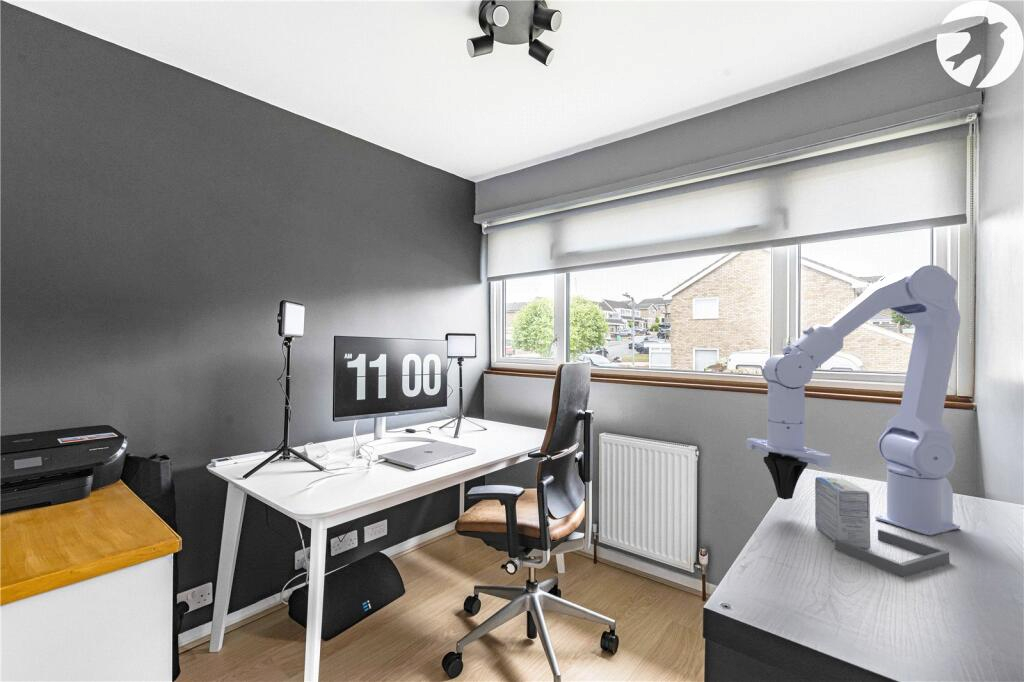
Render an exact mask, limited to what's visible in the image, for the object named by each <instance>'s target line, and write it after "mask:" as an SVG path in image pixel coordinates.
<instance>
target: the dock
mask: <svg viewBox="0 0 1024 682" xmlns="http://www.w3.org/2000/svg"><path fill="white" fill-rule="evenodd" d="M877 540H879V541H880V542H881V541H882V542H884V543H887V544H889V545H892V546H896V547H898V548H899V547H900V548H902V549H905V550H907V551H911V552H913V553H916V554H918V555H921V556H919V557H916V558H912V559H909V560H906V561H902V562H899V561H896V560H893V559H891V558H888V557H887V556H883V555H881V554H877V553H875V552H872V551H870V550H868V549H862V548H859V547H857V546H854V545H851V544H849V543H846V542H843V541H841V540H838V539H836V540H835V542H834V551H836V552H839V553H842V554H844V555H847V556H849V557H851V558H854V559H856V560H859V561H861V562H864V563H866V564H869V565H871V566H873V567H877V568H878V569H880V570H884V571H886V572H889V573H892V574H894V575H897V576H899V577H902V578H905V577H909V576H911V575H914V574H917V573H918V574H919V573H920V572H921V573H922V572H924V571H927V570H931V569H934V568H937V567H940V566H944V565H948V564H950V551H947V550H944V549H940V548H937V547H935V546H932V545H930V544H926V543H923V542H919V541H916V540H914V539H911V538H908V537H904V536H901V535H899V534H896V533H892V532H889V531H886V530H884V529H880V528H879V529H878V530H877Z"/></svg>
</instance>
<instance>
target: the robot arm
mask: <svg viewBox="0 0 1024 682" xmlns="http://www.w3.org/2000/svg"><path fill="white" fill-rule="evenodd" d="M957 287H958V280H956V279H955V278H954V277H953V276H952V275H951V274H950V273H949V272H948V271H947V270H945V268H943V267H941V266H938V265H934V264H933V265H932V264H927V265H923V266H919V267H918V268H914V269H910V270H906V271H900V272H897V273H888V274H885V275H884V276H882V277H880V278H879V279H878V281H877V282H876V281H875V282H874V283H871V284H870V285H869V286H868V287H867V288H866V289H865V291H864V292H862V293H861V294H860V295H859V296H858V297H857V298H856V299H855V300H854V301H852V302H851V303H850V304H849V305H847V307H845V309H843V310H842V311H841V312H840V313H838V315H837V316H835V317H834V318H833V319H832V320H830V322H829V323H828V324H826V325H825V324H815V325H814V326H813V327H812V326H807V327H806V328H804V329H803V330H802V333H803V335H801V336H800V337H798V338H797V339H796V340H794V341H793V343H791V344H790V345H785V346H783V347H782V348H781V351H782V354H775V355H772V356H771V357H769V358H768V359H767V360H766V361H765V362H764V366H763V368H761V370H760V371H761V374H762V377H763V379H764V380H765V381H766V383H767V395H766V396H767V402H766V403H767V404H766V405H767V407H766V410H767V411H766V413H767V414H766V415H767V416H766V418H767V419H766V420H767V423H766V424H767V425H766V426H767V427H766V428H767V429H766V431H767V432H766V433H767V434H766V440H765V439H761V438H755V437H751V438H746V449H747V450H752V451H753V450H755V451H759V452H763V453H767V456H764V457H763V462H764V464H765V466H766V467H767V469H768V471H769V473H770V475H771V478H772V481H773V483H774V486H775V490H776V495H777V498H780V499H782V500H790V499H793V496H794V493H795V489H796V486H797V483H798V482H799V480H800V477H801V476H802V474H803V472H804V471H805V469H806V468H807V467H808V464H812V465H816V466H818V467H821V468H828V467H831V466H832V465H831V464H832V463H831V462H832V461H831V459H832V458H831V457H832V456H831V455H832V454H828V453H825V452H821V451H818V450H814V449H812V448H809V447H806V446H805V425H806V424H805V417H806V416H805V415H806V414H805V410H806V409H805V406H806V405H805V401H806V400H805V394H806V393H805V390H806V389H805V385H806V384H809V383H810V382H811V380H812V378H813V374H814V373H813V372H814V371H815V370H817V369H818V368H820V367H821V366H822V365H823V364H825V363H826V362H827V361H828V360H830V359H831V358H833V356H835V355H836V354H837V353H838V352H840V351H841V350H842V349H843V347H844V338H846V336H848V335H850V334H851V333H853V332H854V331H855V330H857V329H858V328H859V327H861V326H863V324H865V323H867V322H868V321H869V320H870V319H872V318H873V317H875V316H876V315H878V314H879V313H881V312H882V311H884V310H888V309H890V310H891V311H893V312H894V313H897V314H898V315H900V316H902V317H905V318H906V319H907V321H908V322H910V323H911V324H912V325H913V326H914V333H913V339H912V345H911V349H910V355H909V360H908V365H907V370H906V375H905V380H904V387H903V390H902V391H903V392H902V396H901V402H900V406H899V407H900V408H899V412H898V413H897V414H896V415H894V416H893V417H892V418H891V419H889V420H888V421H887V424H886V428H885V430H884V432H883V433H882V434H881V435H880V436H879V438H878V441H877V443H876V446H877V451H878V454H879V455H880V457H881V458H882V459H883V460H884V461H885V467H886V513H883V514H877V515H875V516H874V519H875V520H878V521H882V522H885V523H888V524H890V525H894V526H897V527H899V528H900V527H901V528H904V529H907V530H910V531H913V532H916V533H920V534H923V535H926V536H934V535H937V534H941V533H946V532H948V531H952V530H957V529H960V528H961V525H960V524H959V523H954V513H953V512H954V507H953V506H954V489H953V487H952V484H951V483H950V481H949V480H948V479H947V478H946V475H948V474H949V473H950V472H952V470H953V468H954V467H955V465H956V455H955V451H954V448H953V440H954V435H953V434H952V432H951V431H950V430H949V429H948V428H947V427H946V425H945V424H944V423H943V421H942V419H943V414H944V407H945V404H946V399H947V398H946V397H947V393H948V387H949V382H950V378H951V377H950V376H951V372H952V367H953V361H954V357H955V351H956V346H957V341H958V336H959V331H960V325H961V313H960V311H959V307H958V303H957V300H956V294H957V293H956V292H957V289H958V288H957Z"/></svg>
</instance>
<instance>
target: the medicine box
mask: <svg viewBox="0 0 1024 682" xmlns="http://www.w3.org/2000/svg"><path fill="white" fill-rule="evenodd" d="M814 489H815V490H814V491H815V492H814V493H815V495H814V497H815V500H814V502H815V503H814V504H815V505H814V506H815V509H814V511H815V512H814V514H815V516H814V517H815V525H814V526H815V528H817V529H818V530H819V531H820V532H821V533H823V534H824V535H825V536H826V537H828V538H829V540H831V541H832V542H834V543H835V540H836V539H838V540H841V541H843V542H846V543H849V544H851V545H854V546H857V547H859V548H862V549H865V550H869V549H871V511H870V510H871V501H870V500H871V498H870V497H871V496H870V492H869V491H868V490H866V489H864V488H862V487H860V486H858V485H857V484H855V483H852V482H851V481H849V480H847V479H845V478H843V477H832V476H816V477H815V481H814Z"/></svg>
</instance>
